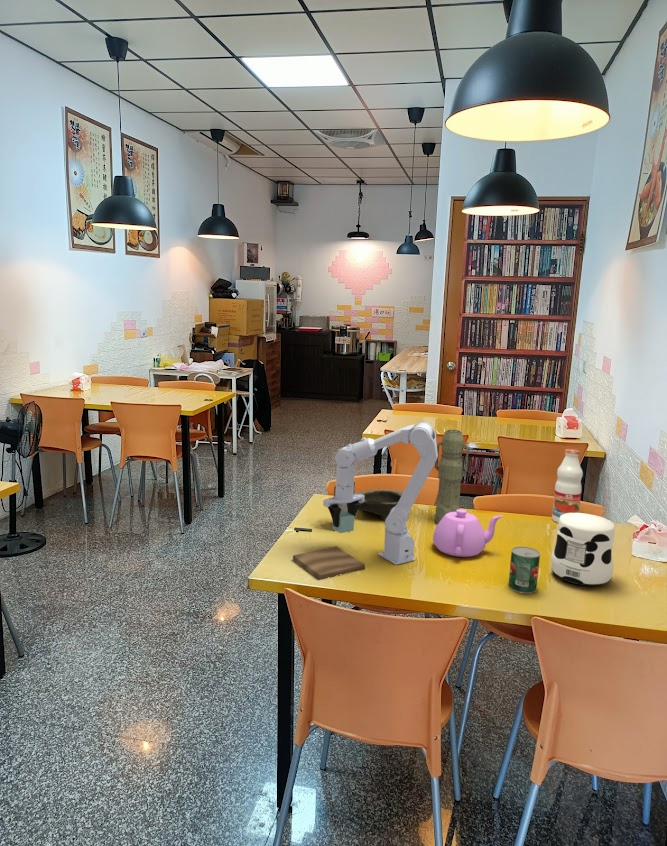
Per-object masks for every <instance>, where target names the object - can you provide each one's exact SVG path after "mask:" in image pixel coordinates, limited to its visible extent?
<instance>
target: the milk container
mask: <svg viewBox="0 0 667 846" xmlns="http://www.w3.org/2000/svg"><path fill="white" fill-rule="evenodd" d="M557 524H558V525H557V531H556V541H555V545H554V548H553V550H552V553H551V558H550V563H551V569H552V571H553V573H554V574H555V575H556V576H557V577H559V578H560V579H562V580H563V581H567V582H568V583H571V584H577V585H579V586H587V587H588V586H589V587H591V586H592V587H594V586H595V587H597V586H601V585H605V584H607V583H608V582H610V580H611V578H612V575H613V573H614V560H613V547H614V546H613V545H614V538H615V524H614V523H613V521H612V520H609V519H608V518H606V517H603V516H598V515H595V514H590V513H586V512H585V513H584V512H583V513H582V512H579V513H566V514H563V515H561V516H560V520H559V523H557Z"/></svg>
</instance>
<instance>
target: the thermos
mask: <svg viewBox="0 0 667 846" xmlns="http://www.w3.org/2000/svg"><path fill="white" fill-rule="evenodd" d="M440 446H441V454H440V455H441V456H440V460H439V453H440ZM464 448H465V449H466V453H465V454H466V455H465V467H464V461H463V451H464ZM469 451H470V448H469V446H468V445H467V444H465V443H464V435H463V432H462V431H460V430H459V429H458V430H457V429H447V430H445V431H444V433H443V436H442V440H441V441H440V442H438V443H437V452H438V458H437V460H436V462H435V464H434V468H435V470H436V471H437V472H438V474H437V477H438V493H437V504H436V507H435V512H434V513H435V515H434V516H435V521H434V522H435V524H436V525H438V523H439V522H440V521H441V519H442V518H443V517H444V516H445V515H446V514H447V513H449V512H456V510H457V509H461V508H460V499H461V497H460V496H461V485H462V484H461V483H462V482H461V481H462V480H463V476H464V475H463V474H467V473H468V472H467V471H468V465H469V453H470V452H469Z"/></svg>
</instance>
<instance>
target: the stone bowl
mask: <svg viewBox="0 0 667 846" xmlns="http://www.w3.org/2000/svg"><path fill="white" fill-rule="evenodd" d="M403 492H404V490H397V489H385V488H384V489H383V488H382V489H381V488H378V489H369V490H368V489H367V490H361V491H355V493H354V495H356V494H362V495H364V496H365V498H364V501H359V503H361V507H360V508H359V510H361V511H364V512H367V513H373V514H374V515H379V518H380V520H383V521H385V520H386V518H387V516H388V515H389V514H390V511H391V509H392V508H393V507H395V506H396V505H397V503H398V502H399V500H400V498H401V496H402V494H403Z"/></svg>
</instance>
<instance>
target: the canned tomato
mask: <svg viewBox="0 0 667 846" xmlns="http://www.w3.org/2000/svg"><path fill="white" fill-rule="evenodd" d="M540 557H541V552H540V551H539V550H538V549H535V548H533V547H529V546H514V547H513V548H511V554H510V565H509V573H508V583H507V584H508V585H507V586H508V588H509V587H510V588H511V591H514V592H516V591H517V593H519V592H522V593H521V594H527V593H528V594H533V593H532V592H534V593H536V591H537V590H538V589H537V587H538V579H539V570H540V569H539V568H540V560H541V559H540ZM510 588H509V589H510Z"/></svg>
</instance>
